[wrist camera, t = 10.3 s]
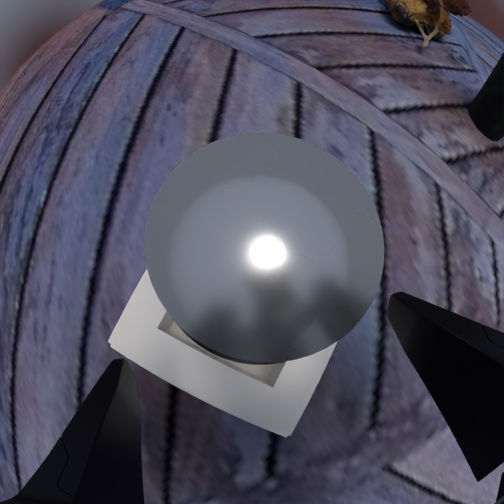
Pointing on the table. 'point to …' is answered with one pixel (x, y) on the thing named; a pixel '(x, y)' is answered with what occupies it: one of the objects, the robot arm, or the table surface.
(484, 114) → the cup
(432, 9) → the seed pod
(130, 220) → the table surface
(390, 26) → the table surface
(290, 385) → the white square hollow block
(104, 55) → the table surface
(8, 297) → the table surface
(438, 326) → the robot arm
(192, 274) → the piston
